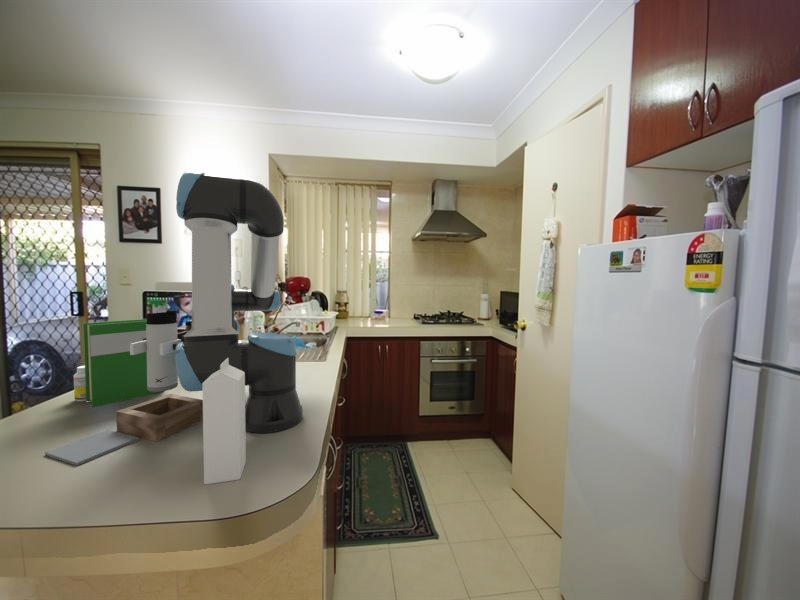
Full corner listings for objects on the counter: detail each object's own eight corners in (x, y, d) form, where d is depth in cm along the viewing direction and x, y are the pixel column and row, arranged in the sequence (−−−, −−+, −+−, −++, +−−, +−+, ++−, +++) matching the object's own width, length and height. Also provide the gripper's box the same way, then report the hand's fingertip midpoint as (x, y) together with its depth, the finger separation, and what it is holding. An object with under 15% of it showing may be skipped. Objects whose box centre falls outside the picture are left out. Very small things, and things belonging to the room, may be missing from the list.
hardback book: (92, 407, 91) (89, 325, 90) (86, 401, 95) (83, 323, 94) (164, 390, 106) (162, 319, 104) (156, 386, 110) (154, 318, 109)
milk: (204, 485, 57) (200, 366, 56) (213, 466, 63) (210, 358, 62) (240, 479, 59) (238, 363, 58) (246, 461, 65) (244, 356, 63)
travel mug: (162, 393, 77) (161, 311, 76) (140, 390, 78) (139, 310, 77) (185, 385, 83) (184, 309, 82) (164, 383, 84) (163, 308, 83)
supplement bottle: (92, 394, 101) (90, 363, 101) (104, 396, 100) (103, 364, 99) (69, 400, 96) (68, 367, 95) (82, 403, 94) (80, 369, 94)
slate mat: (138, 440, 73) (138, 437, 73) (76, 465, 63) (76, 462, 63) (107, 432, 77) (107, 429, 76) (45, 455, 66) (44, 452, 66)
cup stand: (207, 418, 85) (207, 400, 84) (156, 441, 72) (155, 420, 72) (170, 411, 89) (170, 393, 89) (116, 431, 77) (116, 411, 77)
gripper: (236, 346, 98) (187, 365, 75) (174, 346, 98) (105, 364, 75) (236, 322, 98) (186, 334, 75) (173, 322, 97) (104, 333, 74)
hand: (146, 349), depth 75 cm, fingers closed on travel mug, 6 cm apart
